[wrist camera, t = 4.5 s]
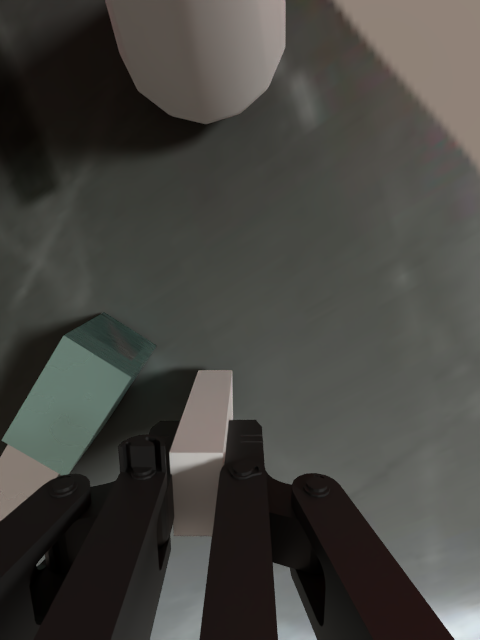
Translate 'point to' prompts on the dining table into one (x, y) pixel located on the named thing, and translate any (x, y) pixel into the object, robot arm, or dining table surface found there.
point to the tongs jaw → (69, 405)
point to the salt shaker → (200, 52)
